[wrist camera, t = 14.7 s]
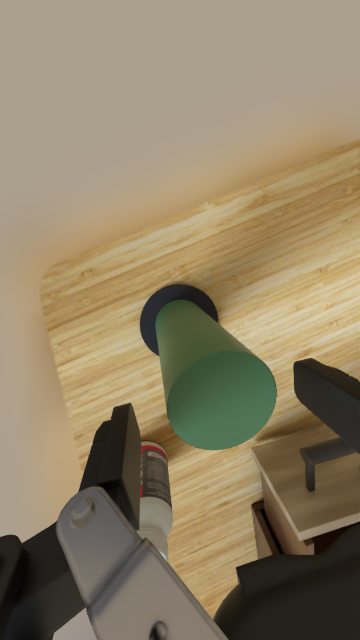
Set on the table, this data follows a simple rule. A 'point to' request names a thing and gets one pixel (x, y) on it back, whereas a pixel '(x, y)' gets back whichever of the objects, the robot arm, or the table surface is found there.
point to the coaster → (165, 297)
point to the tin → (210, 380)
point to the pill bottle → (155, 497)
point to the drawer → (309, 490)
